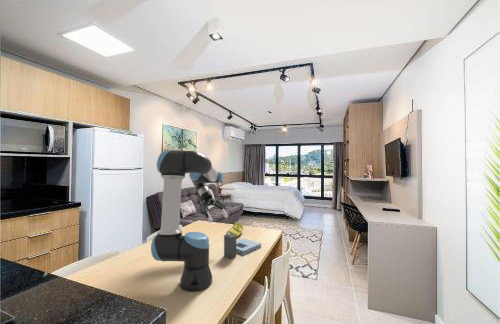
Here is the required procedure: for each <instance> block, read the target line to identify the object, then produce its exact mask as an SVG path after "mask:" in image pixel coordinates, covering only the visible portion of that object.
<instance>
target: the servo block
mask: <svg viewBox="0 0 500 324" xmlns="http://www.w3.org/2000/svg"><path fill="white" fill-rule="evenodd" d="M226 233H227V232H226ZM226 233H225V234H224V235H223V256H224V257H226V258H228V259H230V260H232V259H234V258H236V257H237V252H236V241H237V238H236V235H232V234H230V233H227V234H226Z"/></svg>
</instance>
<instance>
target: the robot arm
mask: <svg viewBox="0 0 500 324" xmlns="http://www.w3.org/2000/svg"><path fill="white" fill-rule="evenodd" d="M156 169H157V172H158V173H160V177H161V178H162V179H163V189H162V202H161V203H162V205H161V220H160V221H161V222H160V229H159V230H158V231H157V232H156V235H155V236H154V237H153V238H152V239H151V240H152V242H151V244H150V251H151V256H152V258H153V259H154V260H155V261H158V262H159V261H160V262H183V265H184V267H183V271H182V274H181V276H180V279H179V282H180V283H179V286H180V288H181V289H182V290H183V291H187V292H199V291H202V290H203V291H204V290H205V289H208V288H209V287H210V286H211V285H212V283H213V275H212V271H211V267H210V264H209V263H210V262H209V261H210V239H209V236H208V235H207V234H206V233H204V232H201V231H189V232H186V233H185V234H184V235H183V230H182V229H181V228H180V221H181V220H180V219H181V200H182V183H183V182H182V181H183V180H184V179H185V177H186V174H189V178H190V181H191V182H192V184H193V186H194V187H195V189H196V191H197V193H198V194H199V196H200V199H201V200H200V201H199V204H200V214H201V215H204V216H205V219H207V220H208V222H209V224H210V223H212V222H213V218H212V215H211V214H210V212H209V211H208V208H209V207H210V206H213V207H216V208H217V209H219V210H221V211H220V212H221V213H222V215H223V216H224V218H225V219H228V217H229V215H228V213H227V210H226V208H227V206H226V205H225V204H224V203H223V202H222V201H221V200H219V199H218V197H213V194H212V193H211V191H210V189H209V187H208V185H207V184H222V183H223V181H224V174H223V172H222V171H221V172H220V171H217V170H216V169H215V168H214V166H213V165H212V161H211V160H210V159H209V158H208V157H207V156H206V155H204V154H203V153H200V152H198V151H195V150H177V149H176V150H175V149H174V150H173V149H171V150H164V151H162V152H160V154H159V156H158V158H157V161H156Z"/></svg>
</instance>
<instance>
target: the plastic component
mask: <svg viewBox="0 0 500 324" xmlns="http://www.w3.org/2000/svg"><path fill="white" fill-rule="evenodd" d="M244 228H245V227H244V226H243V225H242V224H241V223H239V222H235V223H234V224H233V226H232V227H231V228H230V229H229V230H227V232H226V233H225V235H226V234H227V233H230V234H232V235H236V239H238V238H239V237H240V235H242V232H243V230H244Z"/></svg>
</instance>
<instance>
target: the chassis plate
mask: <svg viewBox="0 0 500 324" xmlns="http://www.w3.org/2000/svg"><path fill="white" fill-rule="evenodd" d="M259 247H260V248H262V243H261V242H258V241H254V240H251V239H248V238H241V239H239V240H236V254H240V255H242V256H244V255H248V254H249V253H252V252H253V250H254V251H256V250H258V249H260V248H259ZM257 248H258V249H257ZM255 249H256V250H255Z"/></svg>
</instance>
